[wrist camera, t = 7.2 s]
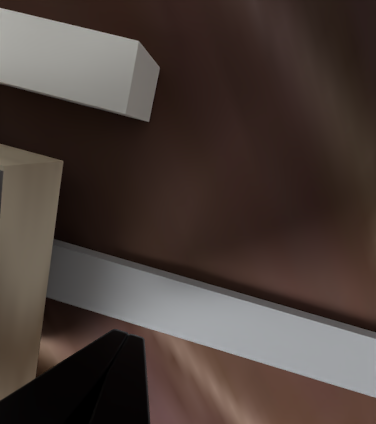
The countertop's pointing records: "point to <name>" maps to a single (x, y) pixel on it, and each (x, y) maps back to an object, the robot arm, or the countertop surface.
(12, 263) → the beige hollow block
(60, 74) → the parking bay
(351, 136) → the countertop surface
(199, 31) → the countertop surface
